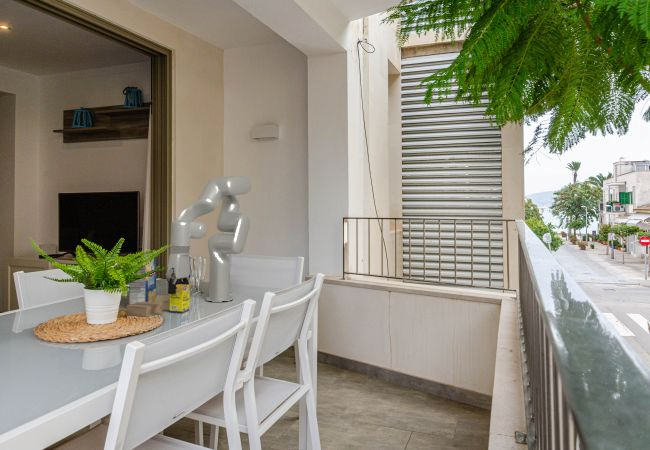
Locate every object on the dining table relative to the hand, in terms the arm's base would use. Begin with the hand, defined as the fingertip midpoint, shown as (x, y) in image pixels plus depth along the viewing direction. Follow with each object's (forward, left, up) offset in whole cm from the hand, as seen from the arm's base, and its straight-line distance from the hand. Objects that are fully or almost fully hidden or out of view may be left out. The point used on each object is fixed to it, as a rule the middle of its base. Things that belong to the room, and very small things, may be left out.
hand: (178, 292), depth 180 cm
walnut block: (+11, -8, -8) cm, 16 cm away
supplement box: (-1, 0, -8) cm, 8 cm away
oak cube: (-5, -9, -8) cm, 13 cm away
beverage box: (-5, -20, -8) cm, 22 cm away
